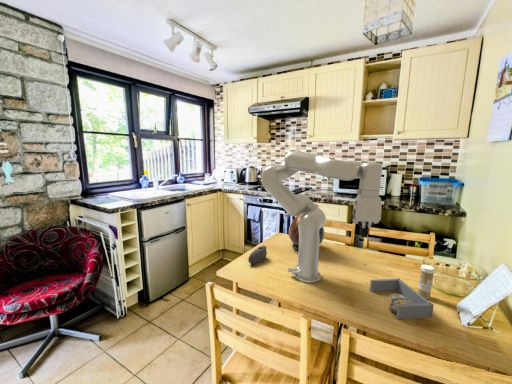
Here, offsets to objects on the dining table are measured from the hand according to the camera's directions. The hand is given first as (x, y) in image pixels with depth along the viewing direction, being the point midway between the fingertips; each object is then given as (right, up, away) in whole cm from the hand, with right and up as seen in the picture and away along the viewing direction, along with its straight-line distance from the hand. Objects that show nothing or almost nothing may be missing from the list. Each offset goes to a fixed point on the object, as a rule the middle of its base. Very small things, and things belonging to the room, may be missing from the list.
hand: (363, 236), depth 100 cm
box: (+12, -26, -3) cm, 29 cm away
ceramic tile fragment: (+12, -27, -6) cm, 30 cm away
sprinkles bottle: (+26, -26, +1) cm, 36 cm away
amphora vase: (-14, -17, +49) cm, 54 cm away
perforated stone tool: (-44, -20, +32) cm, 58 cm away
